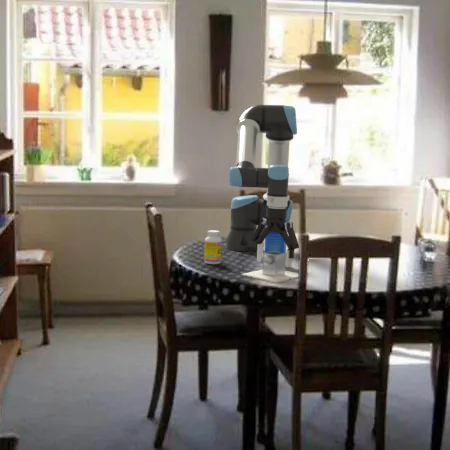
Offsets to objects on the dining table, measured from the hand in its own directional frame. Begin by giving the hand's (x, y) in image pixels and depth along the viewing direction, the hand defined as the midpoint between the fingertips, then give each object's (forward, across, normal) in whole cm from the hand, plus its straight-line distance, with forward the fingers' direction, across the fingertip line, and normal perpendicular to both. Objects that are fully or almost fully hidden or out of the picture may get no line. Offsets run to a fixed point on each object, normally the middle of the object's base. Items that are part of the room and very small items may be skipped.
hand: (274, 263), depth 295 cm
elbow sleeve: (+4, 0, -2) cm, 4 cm away
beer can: (+5, -12, +16) cm, 21 cm away
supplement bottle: (+5, -30, 0) cm, 31 cm away
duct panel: (+4, 0, 0) cm, 5 cm away
